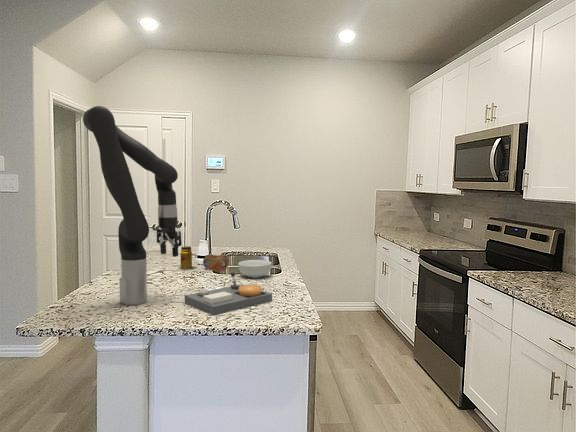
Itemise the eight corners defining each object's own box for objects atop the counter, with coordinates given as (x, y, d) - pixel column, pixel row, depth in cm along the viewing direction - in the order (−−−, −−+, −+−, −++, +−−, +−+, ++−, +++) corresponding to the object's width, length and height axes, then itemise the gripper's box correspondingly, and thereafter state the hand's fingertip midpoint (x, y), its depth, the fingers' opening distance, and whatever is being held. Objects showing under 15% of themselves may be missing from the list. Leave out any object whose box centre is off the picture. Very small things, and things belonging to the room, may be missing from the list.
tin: (202, 269, 227) (202, 253, 226) (206, 268, 230) (206, 253, 229) (225, 272, 220) (225, 256, 219) (228, 271, 223) (228, 255, 222)
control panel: (213, 315, 149) (213, 303, 148) (184, 302, 163) (184, 292, 163) (272, 300, 168) (272, 290, 168) (241, 291, 182) (241, 281, 182)
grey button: (201, 296, 161) (201, 292, 161) (196, 294, 164) (196, 290, 164) (209, 295, 164) (209, 291, 164) (204, 293, 166) (204, 289, 166)
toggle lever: (234, 285, 173) (232, 272, 174) (232, 285, 175) (229, 273, 176) (238, 284, 175) (235, 271, 176) (235, 285, 176) (233, 272, 177)
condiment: (177, 269, 226) (177, 247, 225) (186, 266, 234) (186, 245, 233) (188, 270, 224) (188, 248, 223) (197, 267, 232) (197, 246, 231)
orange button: (248, 297, 161) (248, 291, 161) (234, 292, 168) (234, 287, 167) (266, 293, 167) (266, 287, 167) (251, 289, 174) (251, 283, 174)
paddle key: (211, 304, 152) (211, 298, 151) (202, 301, 155) (202, 295, 155) (232, 299, 158) (232, 294, 158) (224, 296, 162) (224, 291, 162)
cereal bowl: (254, 271, 224) (254, 258, 223) (278, 276, 213) (278, 262, 213) (231, 276, 211) (231, 262, 210) (255, 281, 200) (255, 267, 199)
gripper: (149, 215, 170) (151, 254, 172) (169, 217, 161) (171, 259, 163) (166, 213, 176) (167, 251, 177) (186, 216, 166) (187, 255, 168)
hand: (169, 255), depth 170 cm, fingers open, 8 cm apart
